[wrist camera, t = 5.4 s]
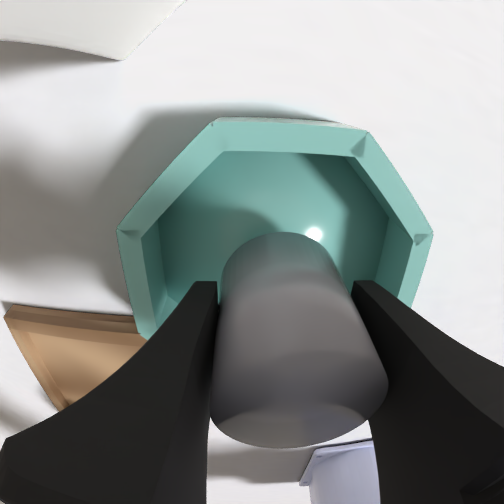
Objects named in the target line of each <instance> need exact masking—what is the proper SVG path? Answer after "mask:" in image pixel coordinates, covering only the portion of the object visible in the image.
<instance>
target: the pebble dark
mask: <svg viewBox="0 0 504 504" xmlns="http://www.w3.org/2000/svg"><path fill="white" fill-rule="evenodd" d="M387 391H388V378H387V375H386V372H385V370H384V368H383V365H382V363H381V361H380V358H379V356H378V354H377V351H376V349H375V347H374V345H373V342H372V340H371V338H370V336H369V333H368V331H367V329H366V327H365V325H364V323H363V320H362V318H361V316H360V314H359V312H358V310H357V308H356V305H355V303H354V301H353V299H352V297H351V295H350V293H349V291H348V289H347V287H346V285H345V283H344V281H343V279H342V277H341V275H340V273H339V271H338V269H337V267H336V265H335V263H334V261H333V259H332V257H331V255H330V254H329V252H328V251H327V250H326V249H325V248H324V247H323V246H322V245H321V244H320V243H318V242H317V241H315V240H314V239H312V238H310V237H308V236H305V235H302V234H299V233H293V232H272V233H267V234H263V235H260V236H257V237H255V238H253V239H251V240H249V241H247V242H246V243H244V244H243V245H241V246H240V247H239V248H238V249H236V251H235V252H234V253H233V254H232V255H231V256H230V258H229V259H228V260H227V262H226V264H225V266H224V269H223V271H222V275H221V282H220V291H219V301H218V313H217V323H216V333H215V343H214V354H213V366H212V378H211V390H210V403H209V412H210V416H211V419H212V421H213V423H214V424H215V426H216V427H217V428H218V429H219V430H220V431H222V432H223V433H224V434H225V435H227V436H229V437H231V438H232V439H235V440H237V441H239V442H242V443H245V444H249V445H253V446H258V447H264V448H297V447H305V446H310V445H315V444H319V443H322V442H326V441H329V440H332V439H334V438H337V437H339V436H342V435H344V434H346V433H348V432H350V431H351V430H353V429H355V428H357V427H358V426H360V425H361V424H363V423H364V422H365V421H366V420H368V419H369V418H370V417H371V416H372V415H373V414H374V413H375V412H376V411H377V410H378V409H379V407H380V406H381V404H382V403H383V401H384V399H385V397H386V395H387Z"/></svg>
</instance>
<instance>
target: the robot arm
mask: <svg viewBox="0 0 504 504" xmlns="http://www.w3.org/2000/svg"><path fill="white" fill-rule="evenodd" d="M351 297H352V299H353V301H354V303H355V305H356V308H357V310H358V312H359V314H360V316H361V318H362V320H363V323H364V325H365V327H366V329H367V331H368V333H369V336H370V338H371V340H372V342H373V345H374V347H375V349H376V351H377V354H378V356H379V358H380V361H381V363H382V365H383V368H384V370H385V372H386V375H387V378H388V391H387V395H386V397H385V399H384V401H383V403H382V404H381V406H380V407H379V409H378V410H377V411H376V412H375V413H374V414H373V415H372V416H371V417H370V418H369V419H368V421H369V425H370V429H371V434H372V439H373V440H372V441H366V442H361V443H355V444H349V445H342V446H335V447H327V448H320V449H317V450H315V451H314V453H313V455H312V457H311V459H310V461H309V464H308V466H307V468H306V470H305V472H304V474H303V476H302V478H301V480H300V482H299V486H309V490H310V498H311V504H504V367H503V366H500V365H498V364H496V363H494V362H492V361H490V360H488V359H486V358H484V357H483V356H481V355H479V354H477V353H475V352H474V351H472V350H470V349H469V348H467V347H465V346H464V345H462V344H460V343H459V342H457V341H455V340H454V339H452V338H451V337H449V336H448V335H446V334H445V333H444V332H442V331H441V330H439V329H438V328H436V327H435V326H433V325H432V324H431V323H429V322H428V321H427V320H425V319H424V318H423V317H421V316H420V315H419V314H417V313H416V312H415V311H413V310H412V309H411V308H409V307H408V306H407V305H406V304H404V303H403V302H402V301H400V300H399V299H398V298H396V297H395V296H394V295H393V294H391V293H390V292H389V291H387V290H386V289H385V288H383V287H382V286H380V285H379V284H377V283H376V282H374V281H373V280H354V282H353V287H352V291H351ZM217 313H218V289H217V281H195V282H194V283H193V284H192V286H191V287H190V289H189V290H188V292H187V293H186V294H185V296H184V297H183V299H182V300H181V301H180V303H179V304H178V305H177V306H176V308H175V309H174V310H173V312H172V313H171V314H170V315H169V316H168V318H167V319H166V320H165V321H164V323H163V324H162V325H161V326H160V327H159V329H158V330H157V331H156V332H155V333H154V334H153V335H152V336H151V337H150V338H149V339H148V341H147V342H146V343H145V344H144V345H143V346H142V347H141V348H140V349H139V350H138V351H137V352H136V353H135V354H134V355H133V356H132V357H131V358H130V359H129V360H128V361H127V362H126V363H124V364H123V365H122V366H121V367H120V368H119V369H118V370H117V371H115V372H114V373H113V374H112V375H111V376H109V377H108V378H107V379H106V380H104V381H103V382H102V383H101V384H99V385H98V386H97V387H95V388H94V389H93V390H91V391H90V392H89V393H88V394H86V395H85V396H83V397H82V398H80V399H79V400H77V401H76V402H74V403H73V404H71V405H69V406H68V407H66V408H65V409H63V410H61V411H60V412H58V413H56V414H55V415H53V416H51V417H49V418H48V419H46V420H44V421H42V422H40V423H38V424H36V425H34V426H32V427H30V428H28V429H26V430H23V431H21V432H19V433H17V434H15V435H13V436H10V437H8V438H6V439H5V442H4V444H3V446H2V449H1V451H0V500H1V501H2V502H3V503H5V504H206V479H207V443H208V430H209V422H210V412H209V403H210V390H211V378H212V366H213V354H214V343H215V333H216V323H217Z"/></svg>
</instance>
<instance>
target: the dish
mask: <svg viewBox="0 0 504 504" xmlns="http://www.w3.org/2000/svg"><path fill="white" fill-rule="evenodd" d="M272 232H293V233H299V234H302V235H305V236H308V237H310V238H312V239H314V240H315V241H317V242H318V243H320V244H321V245H322V246H323V247H324V248H325V249H326V250H327V251H328V252H329V254H330V255H331V257H332V259H333V261H334V263H335V265H336V267H337V269H338V271H339V273H340V275H341V277H342V279H343V281H344V283H345V285H346V287H347V289H348V291H349V293H350V295H351V291H352V287H353V282H354V280H373V281H374V282H376V283H377V284H379V285H380V286H382V287H383V288H385V289H386V290H387V291H389V292H390V293H391V294H393V295H394V296H395V297H396V298H398V299H399V300H400V301H402V302H403V303H404V304H406V305H407V306H408V307H409V308H411V306H412V303H413V300H414V297H415V294H416V291H417V288H418V285H419V282H420V279H421V276H422V273H423V270H424V266H425V263H426V260H427V256H428V253H429V249H430V246H431V242H432V238H433V230H432V229H431V227H430V225H429V223H428V221H427V220H426V218H425V216H424V214H423V213H422V211H421V209H420V208H419V206H418V204H417V202H416V201H415V199H414V197H413V196H412V194H411V193H410V191H409V189H408V188H407V186H406V185H405V183H404V182H403V180H402V178H401V177H400V175H399V174H398V172H397V171H396V169H395V168H394V166H393V165H392V163H391V162H390V160H389V159H388V158H387V156H386V155H385V153H384V152H383V150H382V149H381V148H380V146H379V145H378V143H377V142H376V141H375V139H374V138H373V137H372V135H371V134H370V133H369V132H367V131H366V130H363V129H360V128H356V127H353V126H349V125H346V124H342V123H337V122H327V121H316V120H303V119H287V118H264V117H219V118H217V119H215V120H214V121H212V122H211V123H209V124H208V125H207V126H206V127H205V128H204V129H203V130H202V131H201V132H200V133H199V134H198V135H197V136H196V137H195V138H194V139H193V140H192V141H191V142H190V143H189V145H188V146H187V147H186V148H185V149H184V150H183V151H182V152H181V153H180V154H179V155H178V156H177V157H176V158H175V159H174V160H173V162H172V163H171V164H170V165H169V166H168V167H167V168H166V169H165V170H164V171H163V173H162V174H161V175H160V176H159V177H158V178H157V179H156V180H155V182H154V183H153V184H152V185H151V186H150V187H149V189H148V190H147V191H146V192H145V193H144V194H143V196H142V197H141V198H140V199H139V200H138V202H137V203H136V204H135V205H134V206H133V208H132V209H131V210H130V211H129V212H128V214H127V215H126V216H125V217H124V219H123V220H122V221H121V222H120V224H119V225H118V226H117V229H116V234H117V240H118V245H119V251H120V256H121V261H122V266H123V271H124V276H125V281H126V285H127V290H128V294H129V298H130V303H131V307H132V311H133V315H134V319H135V323H136V326H137V330H138V333H140V335H141V336H142V337H144V338H145V339H147V340H148V339H149V338H150V337H151V336H152V335H153V334H154V333H155V332H156V331H157V330H158V329H159V327H160V326H161V325H162V324H163V323H164V321H165V320H166V319H167V318H168V316H169V315H170V314H171V313H172V312H173V310H174V309H175V308H176V306H177V305H178V304H179V303H180V301H181V300H182V299H183V297H184V296H185V294H186V293H187V292H188V290H189V289H190V287H191V286H192V284H193V283H194V282H195V281H217V289H218V301H219V291H220V282H221V275H222V271H223V269H224V266H225V264H226V262H227V260H228V259H229V258H230V256H231V255H232V254H233V253H234V252H235V251H236V249H238V248H239V247H240V246H241V245H243V244H244V243H246V242H247V241H249V240H251V239H253V238H255V237H257V236H260V235H263V234H267V233H272Z"/></svg>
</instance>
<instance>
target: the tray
mask: <svg viewBox="0 0 504 504" xmlns="http://www.w3.org/2000/svg"><path fill="white" fill-rule="evenodd" d="M4 320H5V322H6V324H7V326H8V328H9V330H10V332H11V334H12V336H13V338H14V340H15V342H16V343H17V345H18V347H19V349H20V351H21V353H22V354H23V356H24V358H25V360H26V361H27V363H28V365H29V367H30V368H31V370H32V372H33V373H34V375H35V376H36V378H37V380H38V381H39V383H40V384H41V386H42V388H43V389H44V391H45V392H46V394H47V395H48V397H49V398H50V399H51V401H52V402H53V404H54V405H55V407H56V408H57V409H58V411H59V412H60V411H61V410H63V409H65V408H66V407H68V406H69V405H71V404H73V403H74V402H76V401H77V400H79V399H80V398H82V397H83V396H85V395H86V394H88V393H89V392H90V391H91V390H93V389H94V388H95V387H97V386H98V385H99V384H101V383H102V382H103V381H104V380H106V379H107V378H108V377H109V376H111V375H112V374H113V373H114V372H115V371H117V370H118V369H119V368H120V367H121V366H122V365H123V364H124V363H126V362H127V361H128V360H129V359H130V358H131V357H132V356H133V355H134V354H135V353H136V352H137V351H138V350H139V349H140V348H141V347H142V346H143V345H144V344H145V343H146V342H147V341H148V340H147V339H145V338H144V337H142V336H141V335H140V333H138V330H137V326H136V323H135V319H134V316H119V315H106V314H94V313H82V312H72V311H62V310H53V309H44V308H36V307H28V306H21V305H14V304H13V305H12V307H11V308H10V309H9V310H8V312H7V313H6V314H5V315H4Z"/></svg>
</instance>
